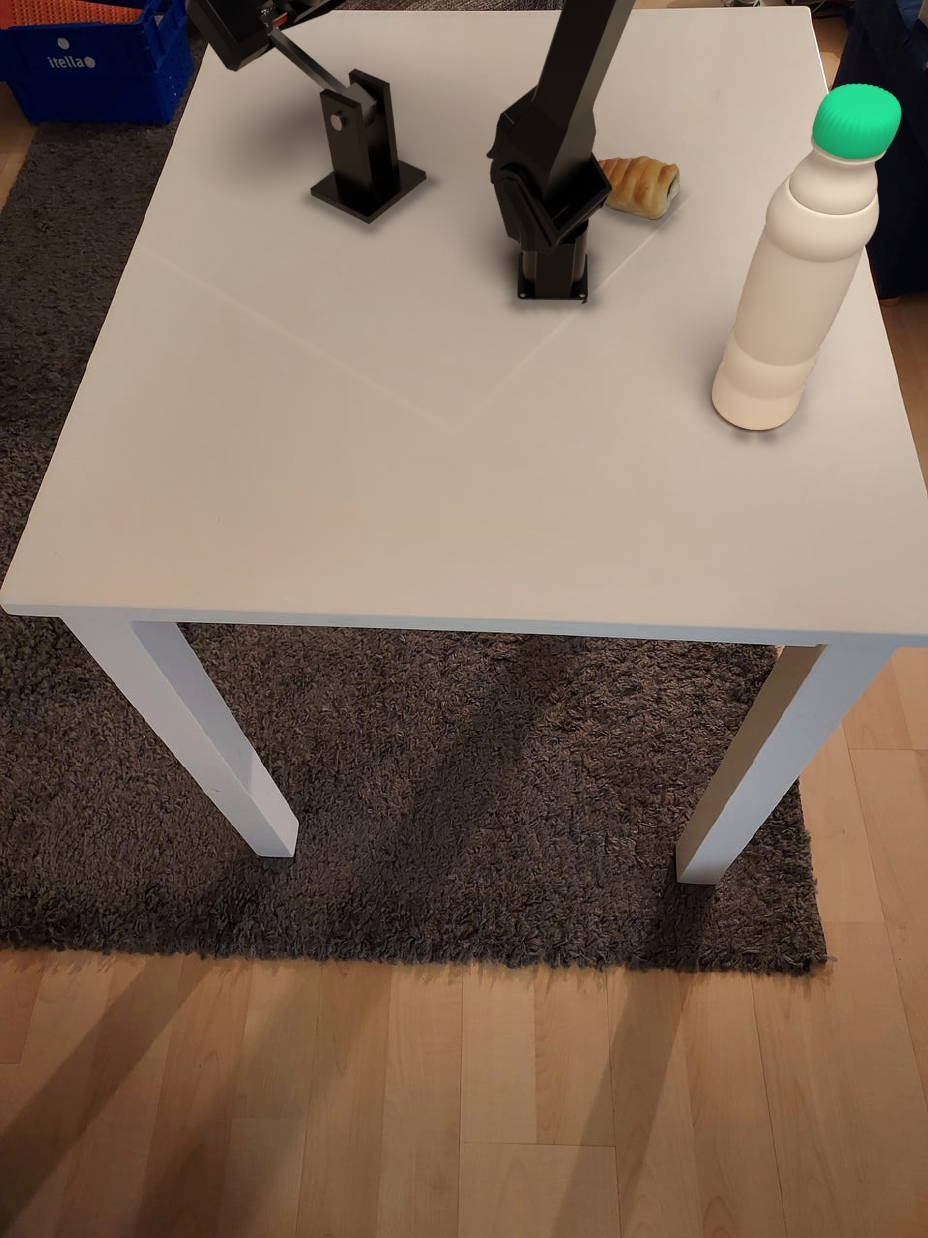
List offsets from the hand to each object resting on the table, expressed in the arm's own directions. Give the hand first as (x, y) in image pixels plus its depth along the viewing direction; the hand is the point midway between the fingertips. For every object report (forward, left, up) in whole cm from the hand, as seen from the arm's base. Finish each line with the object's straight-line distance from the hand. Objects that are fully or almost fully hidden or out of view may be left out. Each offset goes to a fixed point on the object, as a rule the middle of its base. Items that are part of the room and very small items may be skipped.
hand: (256, 38), depth 81 cm
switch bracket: (-7, -10, -11) cm, 17 cm away
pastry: (-9, -37, -11) cm, 40 cm away
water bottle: (-36, -46, -11) cm, 60 cm away
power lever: (-4, -6, -2) cm, 7 cm away
